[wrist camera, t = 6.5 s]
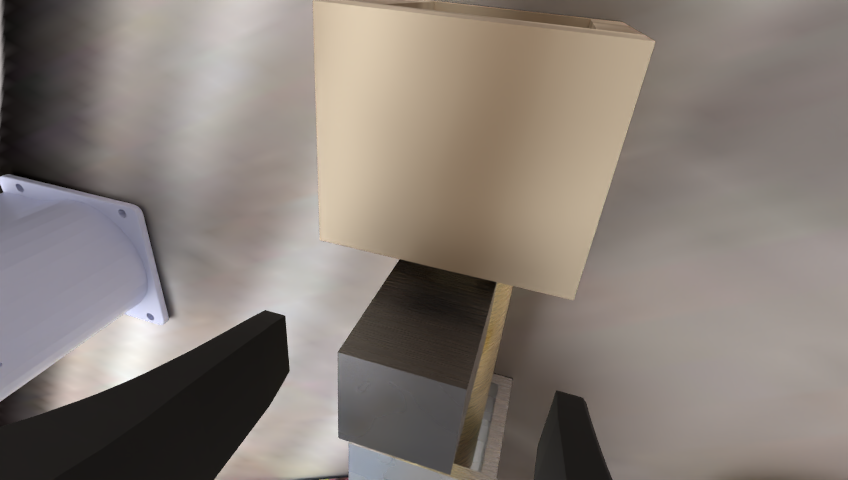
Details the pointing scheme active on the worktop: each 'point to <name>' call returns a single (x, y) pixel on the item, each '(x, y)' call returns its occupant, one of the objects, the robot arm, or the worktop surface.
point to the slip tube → (422, 366)
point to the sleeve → (390, 476)
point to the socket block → (471, 134)
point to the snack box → (337, 479)
